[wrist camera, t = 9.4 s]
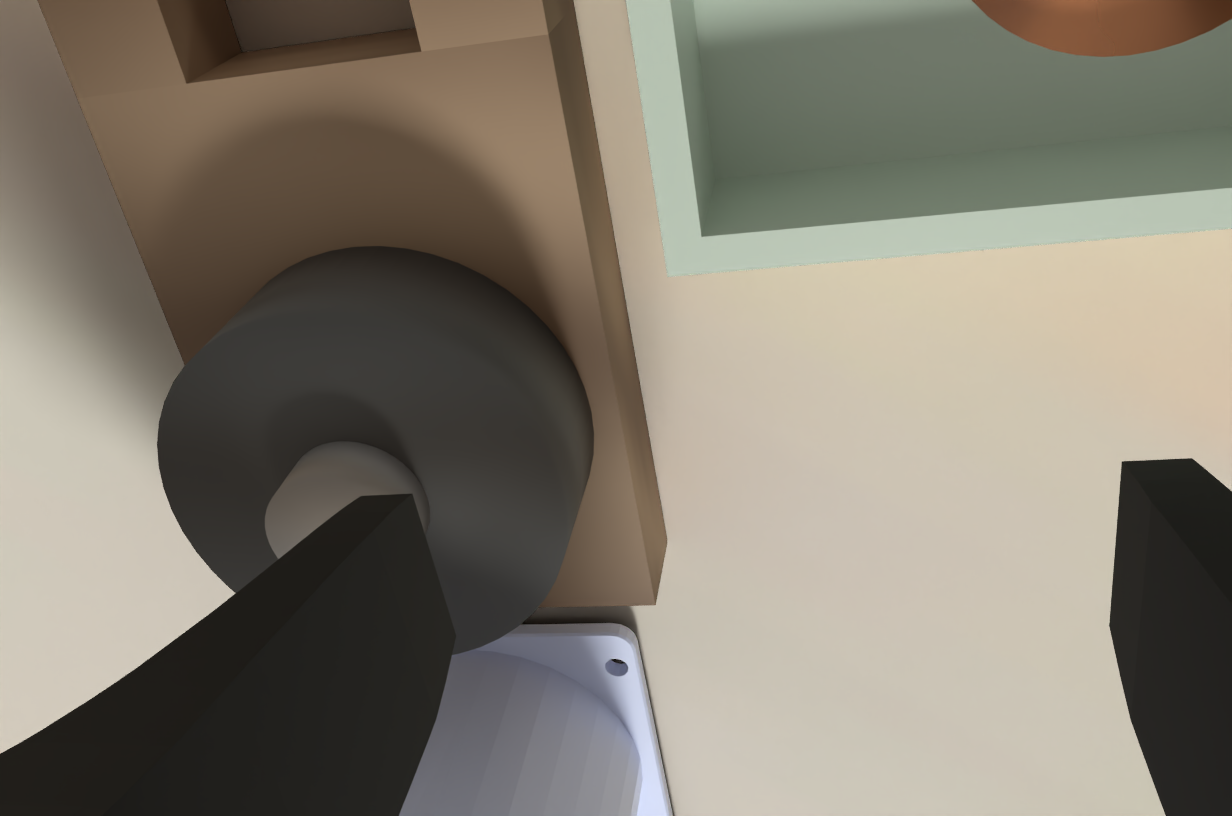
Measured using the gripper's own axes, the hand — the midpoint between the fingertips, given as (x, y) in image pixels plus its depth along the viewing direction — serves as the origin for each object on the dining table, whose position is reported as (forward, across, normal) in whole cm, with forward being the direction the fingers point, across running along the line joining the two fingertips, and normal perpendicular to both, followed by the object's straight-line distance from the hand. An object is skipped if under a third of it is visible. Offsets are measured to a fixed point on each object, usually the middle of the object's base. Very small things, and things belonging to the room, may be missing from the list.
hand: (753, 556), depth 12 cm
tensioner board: (+9, +7, -2) cm, 12 cm away
